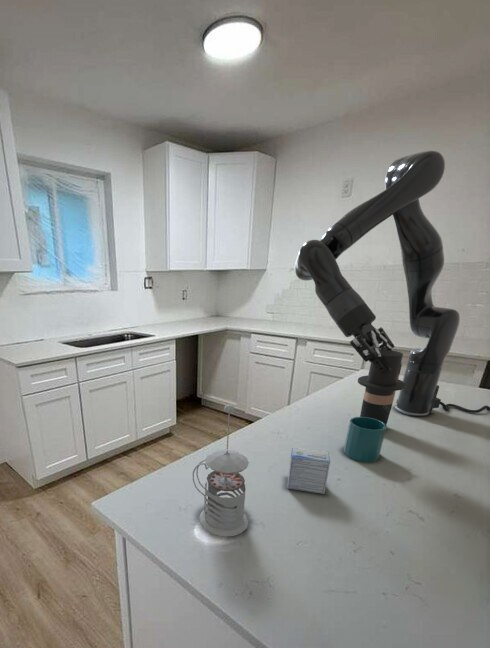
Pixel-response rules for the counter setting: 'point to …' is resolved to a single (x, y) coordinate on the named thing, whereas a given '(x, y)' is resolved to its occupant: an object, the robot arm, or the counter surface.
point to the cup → (364, 439)
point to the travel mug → (377, 405)
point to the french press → (224, 512)
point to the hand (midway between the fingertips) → (392, 369)
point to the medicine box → (308, 470)
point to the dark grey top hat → (384, 376)
